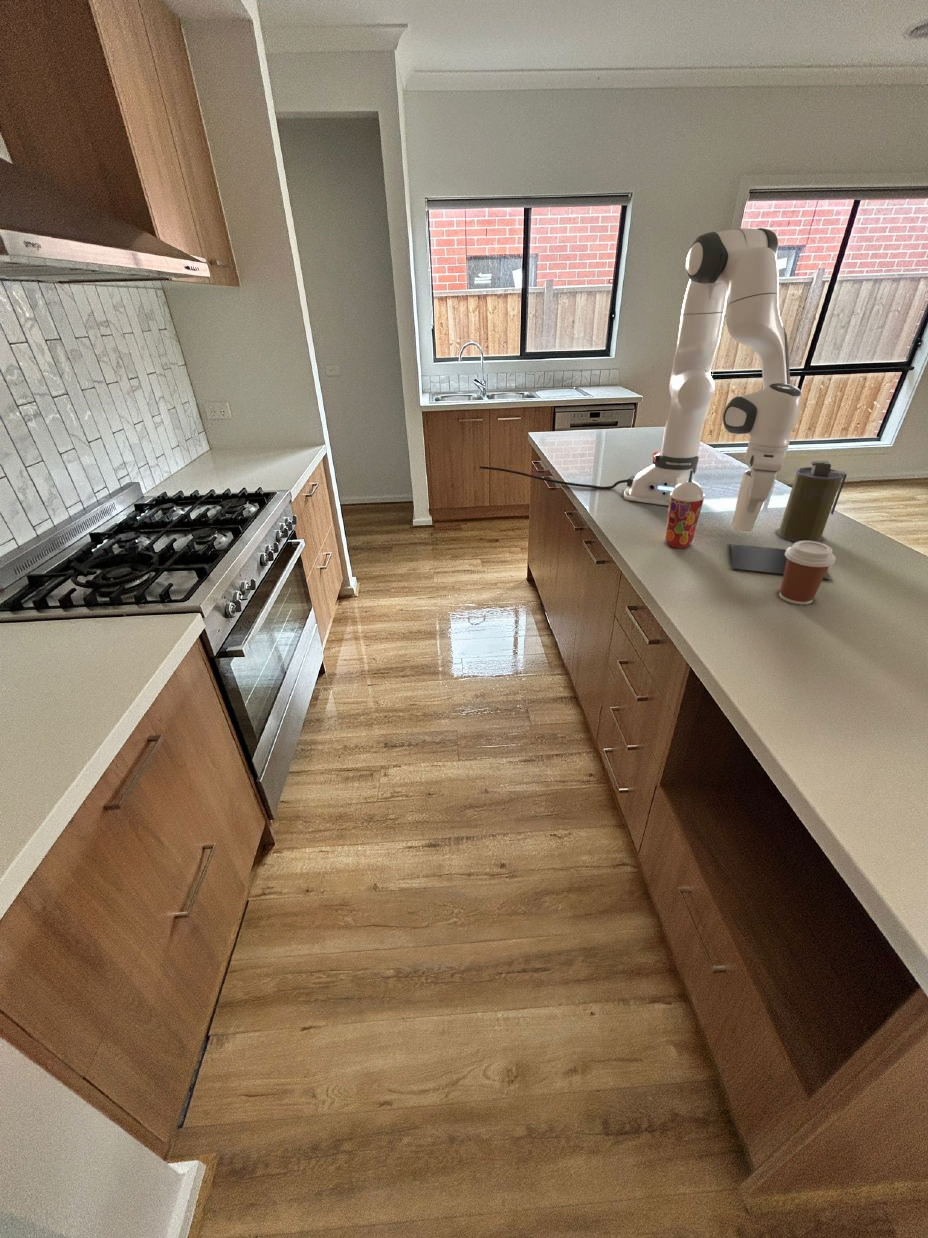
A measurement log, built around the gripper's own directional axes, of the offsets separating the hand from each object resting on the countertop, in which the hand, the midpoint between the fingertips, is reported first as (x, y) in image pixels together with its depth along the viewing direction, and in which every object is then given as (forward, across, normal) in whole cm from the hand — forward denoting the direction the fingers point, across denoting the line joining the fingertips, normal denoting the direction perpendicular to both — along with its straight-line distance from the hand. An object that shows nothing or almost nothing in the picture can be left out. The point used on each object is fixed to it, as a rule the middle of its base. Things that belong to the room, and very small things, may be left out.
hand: (749, 506), depth 137 cm
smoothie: (+9, +10, -16) cm, 21 cm away
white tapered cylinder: (+6, 0, 0) cm, 6 cm away
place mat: (+8, +15, +7) cm, 18 cm away
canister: (+8, -4, +15) cm, 17 cm away
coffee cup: (+8, +33, +10) cm, 35 cm away
